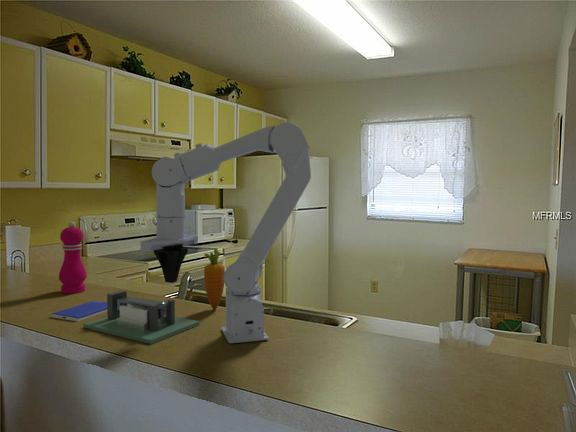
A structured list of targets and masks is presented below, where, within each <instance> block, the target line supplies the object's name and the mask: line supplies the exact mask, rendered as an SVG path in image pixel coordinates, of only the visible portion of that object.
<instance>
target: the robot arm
mask: <svg viewBox="0 0 576 432" xmlns="http://www.w3.org/2000/svg"><path fill="white" fill-rule="evenodd" d="M194 146H195V148H192V149H190V150H187V151H185V152H183V153H181V152H178V151H177V152H175V153H174V154H173V156H174V157H173V158H172V157H169V156H162V157H161V158H160V159H157V160H156V161H155V162H154V164H153V165H152V169H151V176H152V179H153V180H154V182H155V183H156V192H155V193H156V194H155V195H156V197H155V198H156V199H155V200H156V209H155V210H156V211H155V212H156V215H155V216H156V236H155V237H154V238H151V239H147V240H140V252H152V251H153V255H154V256H155V257H156V259H157V261H158V262H159V265H160V268H161V271H162V275H163V279H164V282H165V283H171V284H175V283H176V282H177V281H178V278H179V274H180V270H181V267H182V264H183V261H185V260H184V259H185V258H186V256H187V254H188V252H189V248H188V247H187V246H189V245H197V244H198V241H199V239H198V238H199V236H198V235H197V234H186V195H185V194H186V193H185V192H186V191H185V189H186V188H185V185H186V183H187V181H188V182H189V181H192V180H195V179H198V178H201V177H204V176H207V175H209V174H213V173H215V172H217V171H219V168H220V167H221V164H222V163H224V162H227V161H231V160H233V159H236V158H239V157H242V156H245V155H248V154H251V153H254V152H260V151H261V152H265V153H266V152H267V153H271V154H274V153H275V154H277V156H278V157H279V158H280V161H281V164H282V167H283V171H284V174H285V177H284V179H283V181H282V182H281V185H280V186H279V188H278V189H277V191H276V193H275V195H274V197H273V199H272V200H271V202H270V204H269V205H268V207H267V209H266V211H265V212H264V214H263V216H262V217H261V219H260V222H259V223H258V224H257V226H256V228H255V230H254V232H253V234H252V235H251V236H250V239H249V241H248V242H247V243H246V246H245V247H244V248H243V250H242V251H241V252H240V254H239V256H238V258H237V259H236V260H235V261H234V262H233V263H231V264H230V265H228V266H227V267H226V269H225V272H224V286H225V287H226V288H225V326H221V331H222V332H223V334H224V337H225V338H226V340H227V342H228V344H238V343H249V342H250V343H251V342H258V341H259V342H260V341H268V340H269V339H270V337H269V336H268V335H267V333H266V332H265V309H264V306H263V304H262V287H261V286H260V284H259V282H258V281H259V280H260V279H261V276H262V275H263V274H262V273H263V265H264V263H265V261H266V259H267V256H268V254H269V252H270V251H271V249H272V247H273V245H274V244H275V242H276V241H277V239H278V237H279V235H280V233H281V232H282V230H283V228H284V227H285V225H286V223H287V221H288V220H289V219H290V216H291V214H292V213H293V210H294V209H295V207H296V206H297V204H298V202H299V200H300V199H301V197H302V195H304V194H303V193H304V192H305V190H306V188H307V186H308V185H309V183H310V181H311V178H312V171H311V169H312V168H311V157H310V147H309V146H310V145H309V143H308V141H307V139H306V137H305V135H304V133H303V131H302V129H301V128H300V127H299V126H298V125H297V124H296V123H293V122H290V121H283V122H281V123H279V124H277V125H276V126H275V125H268V126H265V127H263V128H260V129H257V130H255V131H252V132H250V133H248V134H247V133H246V134H245V135H242V136H240V137H238V138H236V139H234V140H233V139H232V140H230V141H229V142H225V143H223V144H221V145H219V146H217V147H215V146H213V145H211V144H208V143H206V144H203V143H201V142H200V143H197V144H195V145H194ZM185 246H186V247H185Z"/></svg>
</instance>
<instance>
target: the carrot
mask: <svg viewBox="0 0 576 432" xmlns="http://www.w3.org/2000/svg"><path fill="white" fill-rule="evenodd" d="M204 256H205V257H207V258H208V259H209V262H210V263H208V264H206V265H204V270H203V272H204V273H203V275H204V288H205V293H206V297H207V300H208V301H209V304H210V307H211V308H212V309H213V310H216V309H217V308H218V306H219V305H220V302H221V300H222V297H223V294H224V286H225V283H224V272H225V270H226V269H225V266H224V264H221V263H218V261H219V257H220V256H221V252H220V251H219V249H218V248H213V252H212V251H211V252H209V254H208V253H206V252H205V253H204Z"/></svg>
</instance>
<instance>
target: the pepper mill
mask: <svg viewBox="0 0 576 432" xmlns="http://www.w3.org/2000/svg"><path fill="white" fill-rule="evenodd" d="M67 226H68V227H65V228H64V229H62V230H61V231H60V233H59V234H60V235H59V239H60V241H61V242H62V250H63V253H64V255H63V256H64V257H63V258H64V259H63V262H62V264H61V267H60V269H59V272H58V280H59V281H60V283H61V284H62V285H61V286H60V292H61V294H72V295H73V294H79V293H82V292H85V291H86V283H84V282H85V280H86V279H87V277H88V276H87V271H86V267H85V265H84V264H83V261H82V257H81V250H82V249H83V248H82V247H83V245H82V242H83V240H84V233H83V231H82V229H80V228H78V227H76V223H75V222H74V221H69V222H68V224H67Z"/></svg>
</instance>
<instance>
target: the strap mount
mask: <svg viewBox="0 0 576 432" xmlns="http://www.w3.org/2000/svg"><path fill="white" fill-rule="evenodd" d="M127 292H128V291H126V290H123V289H122V290H118V291H117V290H116V291H114V292H111V293H107V294H106V302H107V312H106V313H107V316H106V317H107V319H110V320H114V319H117V318H118V317H120V310H117V299H119V298H123V297H127V296H128V295H127ZM165 301H168V302H169V304H170V305H169V306H168V307H166V318H167V324H168V325H173V324H175V317H176V313H175V310H176V309H175V308H176V307H175V306H176V305H175V304H176V303H175V301H176V300H175V299H172V298H171V299H170V298H169V299H166V300H165ZM149 324H150V331H157V330H158V305H154V304H152V305H149Z"/></svg>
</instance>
